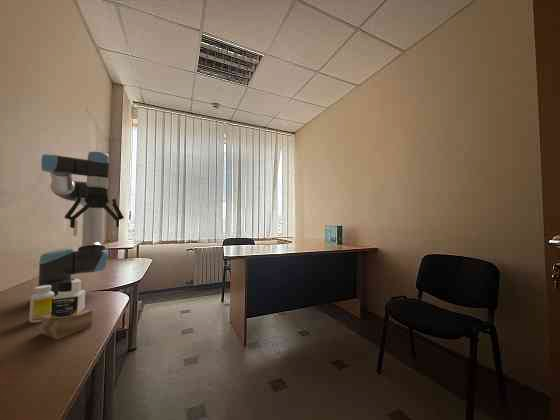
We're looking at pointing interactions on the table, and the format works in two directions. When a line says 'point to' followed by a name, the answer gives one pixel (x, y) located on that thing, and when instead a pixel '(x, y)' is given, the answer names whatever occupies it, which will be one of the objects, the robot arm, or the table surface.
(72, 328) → the wooden block
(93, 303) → the table surface
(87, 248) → the robot arm
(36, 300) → the supplement bottle
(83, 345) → the table surface
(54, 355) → the table surface
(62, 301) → the medicine bottle
